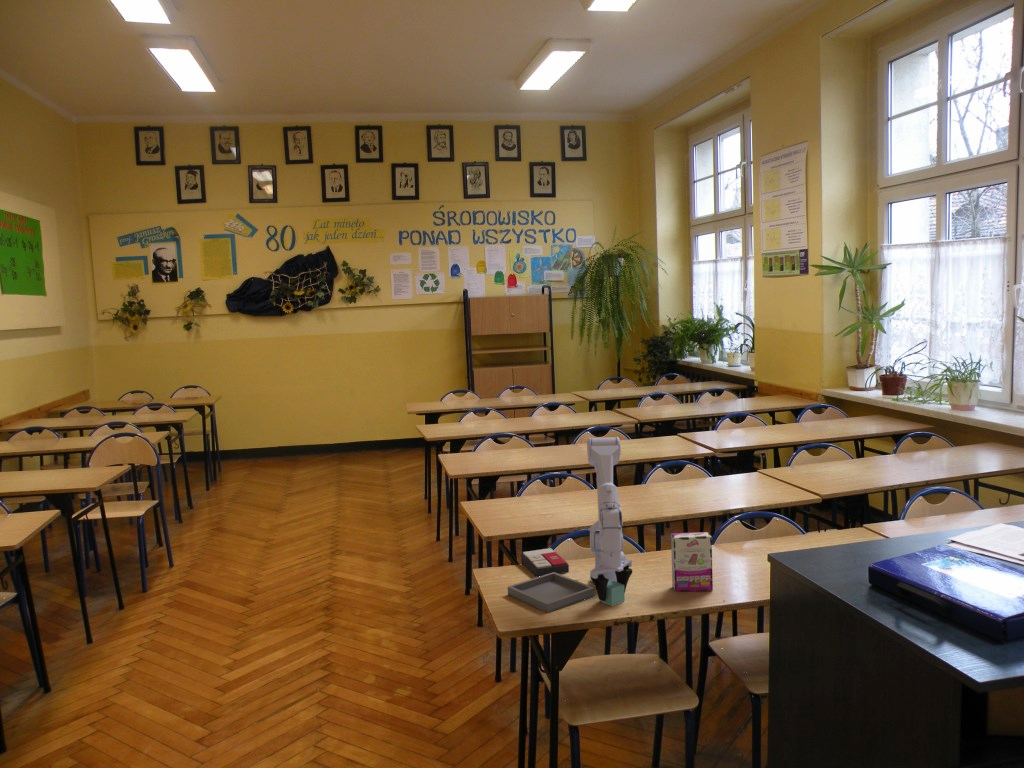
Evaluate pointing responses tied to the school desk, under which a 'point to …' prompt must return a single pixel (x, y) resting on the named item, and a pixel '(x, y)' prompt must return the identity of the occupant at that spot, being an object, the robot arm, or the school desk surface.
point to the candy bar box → (691, 562)
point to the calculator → (544, 562)
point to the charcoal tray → (551, 591)
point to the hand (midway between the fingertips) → (611, 596)
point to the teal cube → (614, 593)
